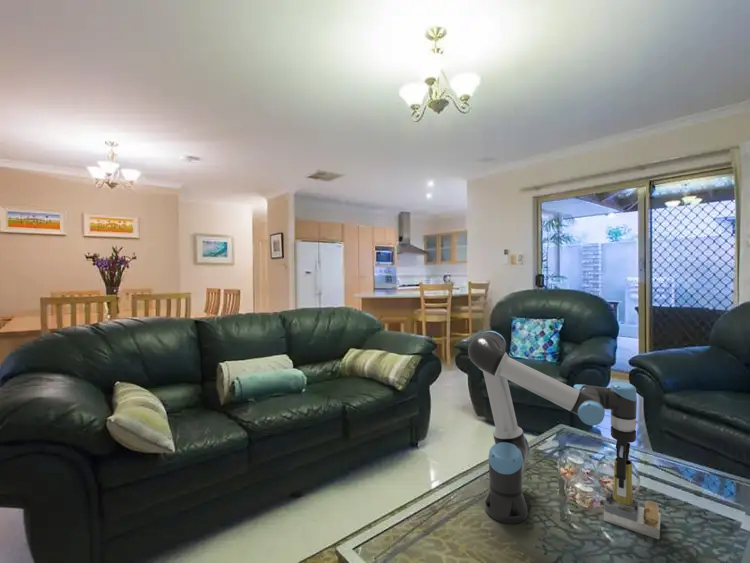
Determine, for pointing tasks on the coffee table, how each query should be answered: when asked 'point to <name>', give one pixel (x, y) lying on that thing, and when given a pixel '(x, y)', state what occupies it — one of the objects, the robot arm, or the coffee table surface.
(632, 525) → the white holder stand
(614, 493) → the vase
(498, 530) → the coffee table surface
